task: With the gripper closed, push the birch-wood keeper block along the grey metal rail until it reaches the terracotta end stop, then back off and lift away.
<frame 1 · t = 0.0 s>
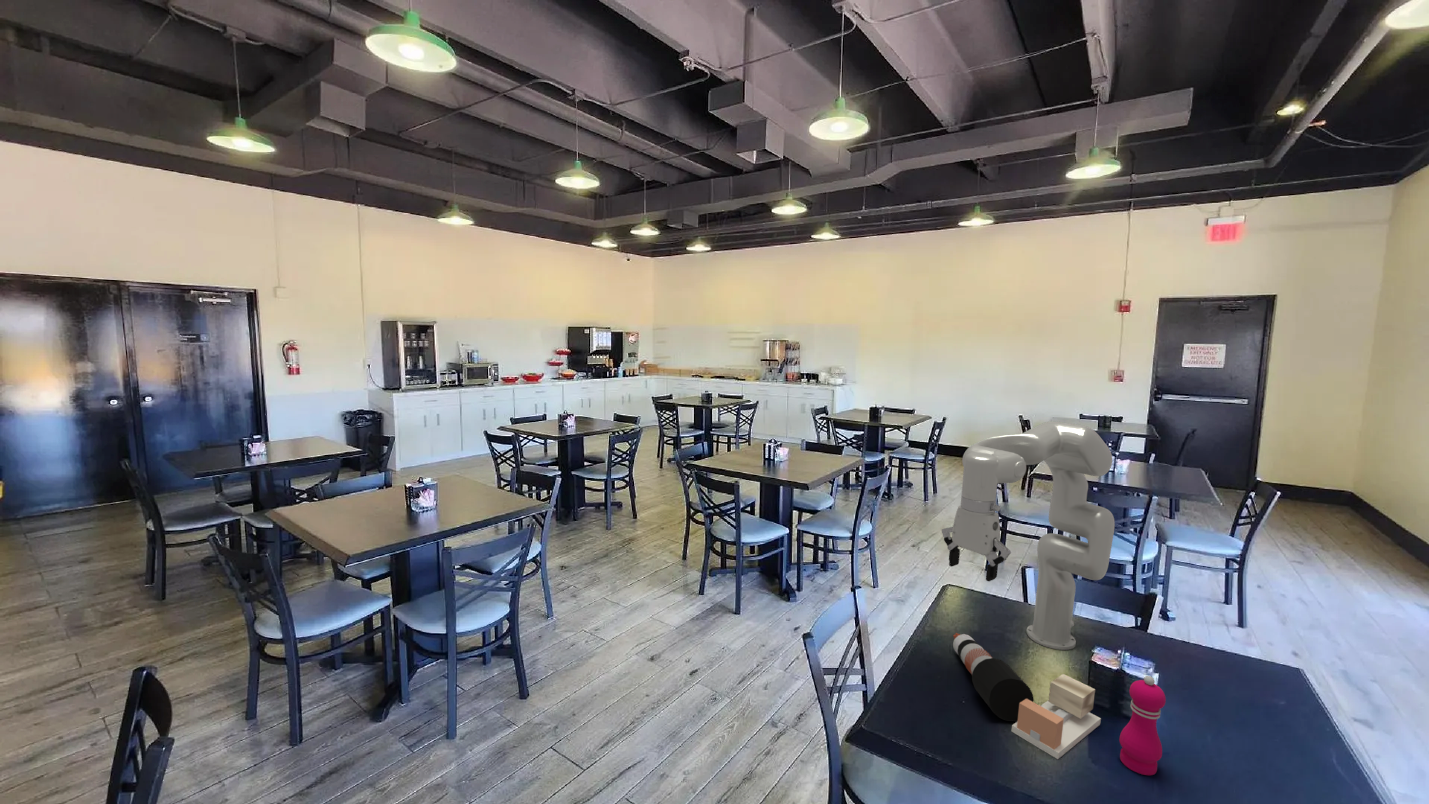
hand: (971, 572, 141), 31 cm above the table, tool pointing down, fingers open, 9 cm apart
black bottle: (979, 680, 150), on the table
keeper: (1071, 695, 135), point 6 cm above the table, slide at 0.0 cm
pepper mill: (1137, 765, 121), on the table
rail base: (1056, 727, 132), on the table
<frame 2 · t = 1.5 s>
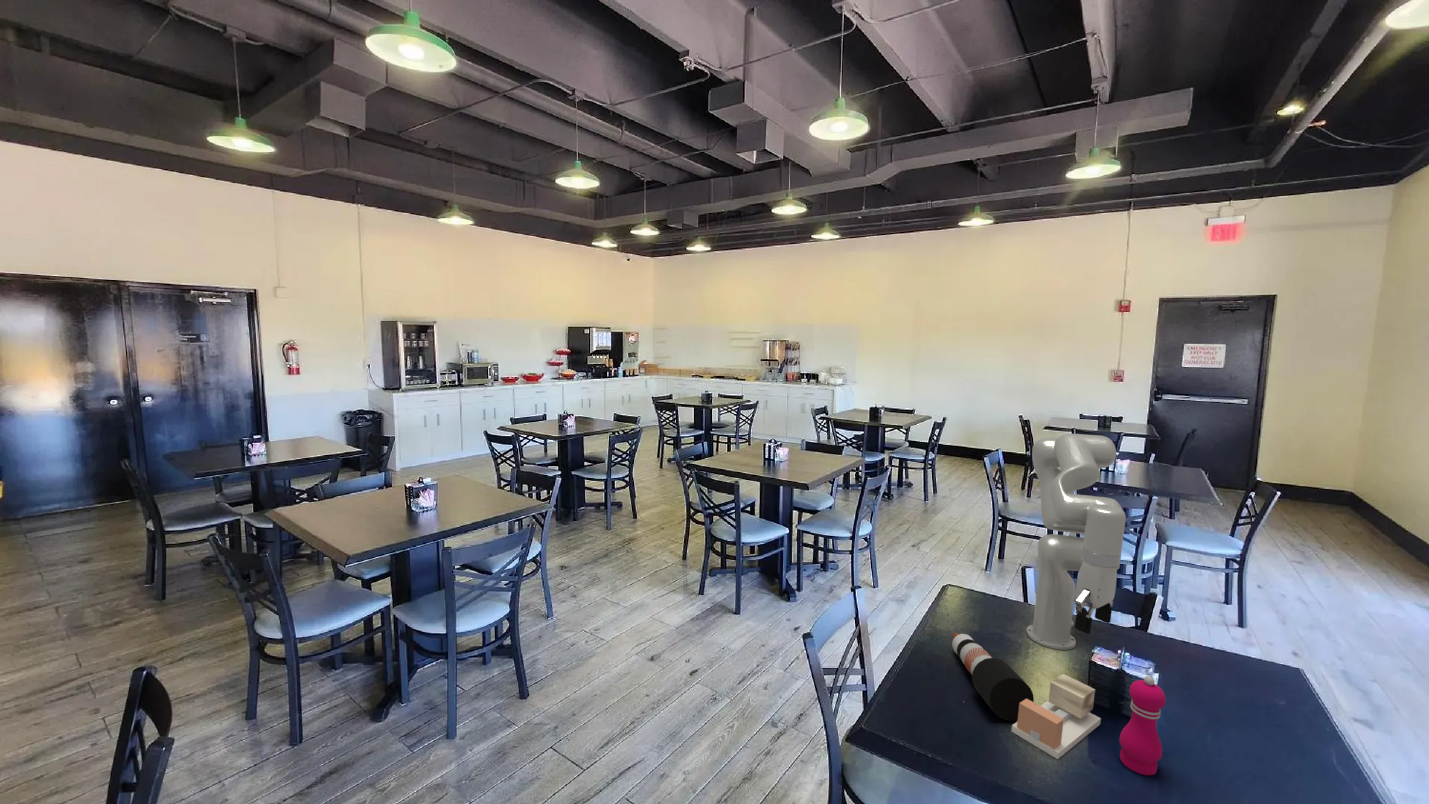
hand: (1092, 625, 138), 20 cm above the table, tool pointing down, fingers open, 9 cm apart
nothing on the table moved.
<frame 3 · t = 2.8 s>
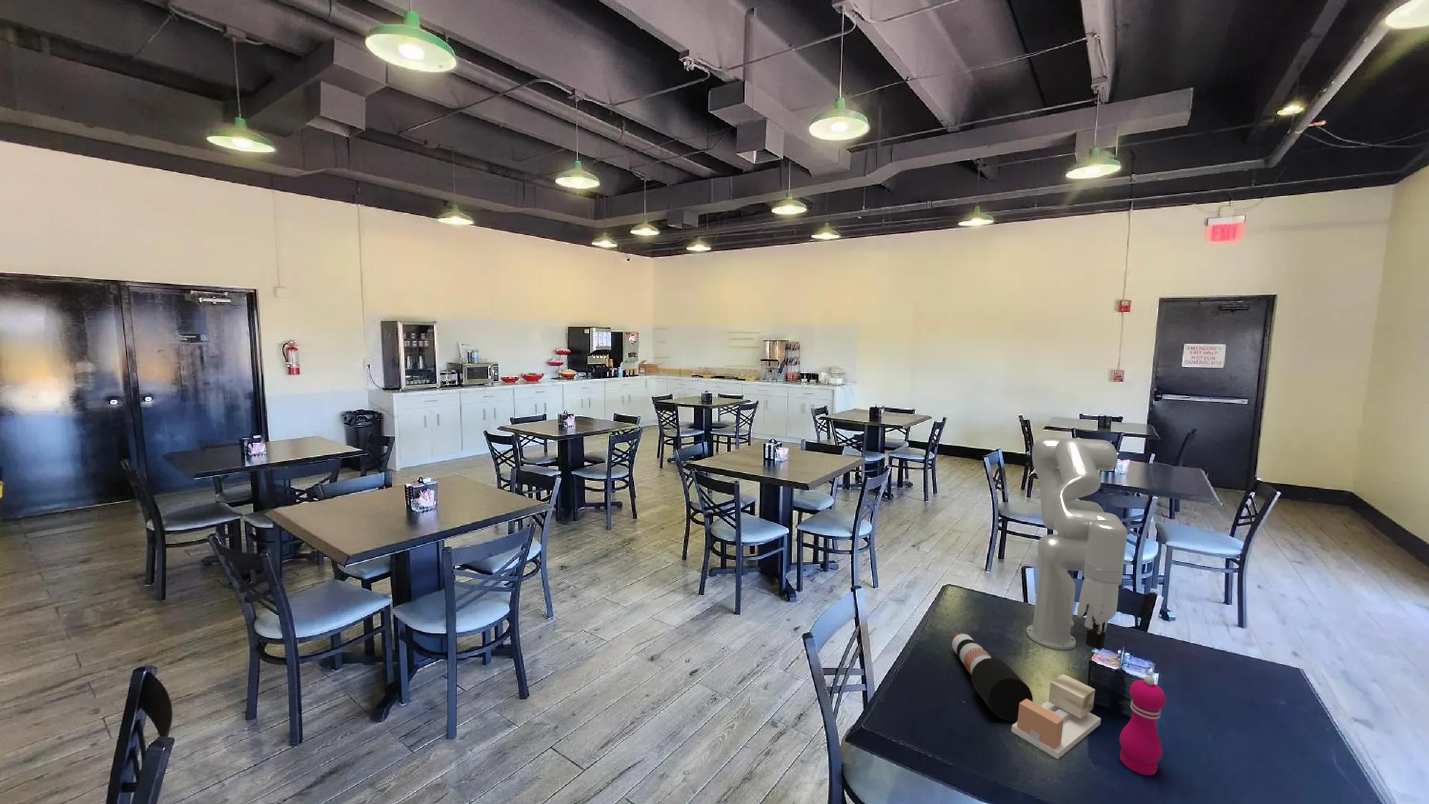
hand: (1094, 646, 138), 16 cm above the table, tool pointing down, fingers closed
nothing on the table moved.
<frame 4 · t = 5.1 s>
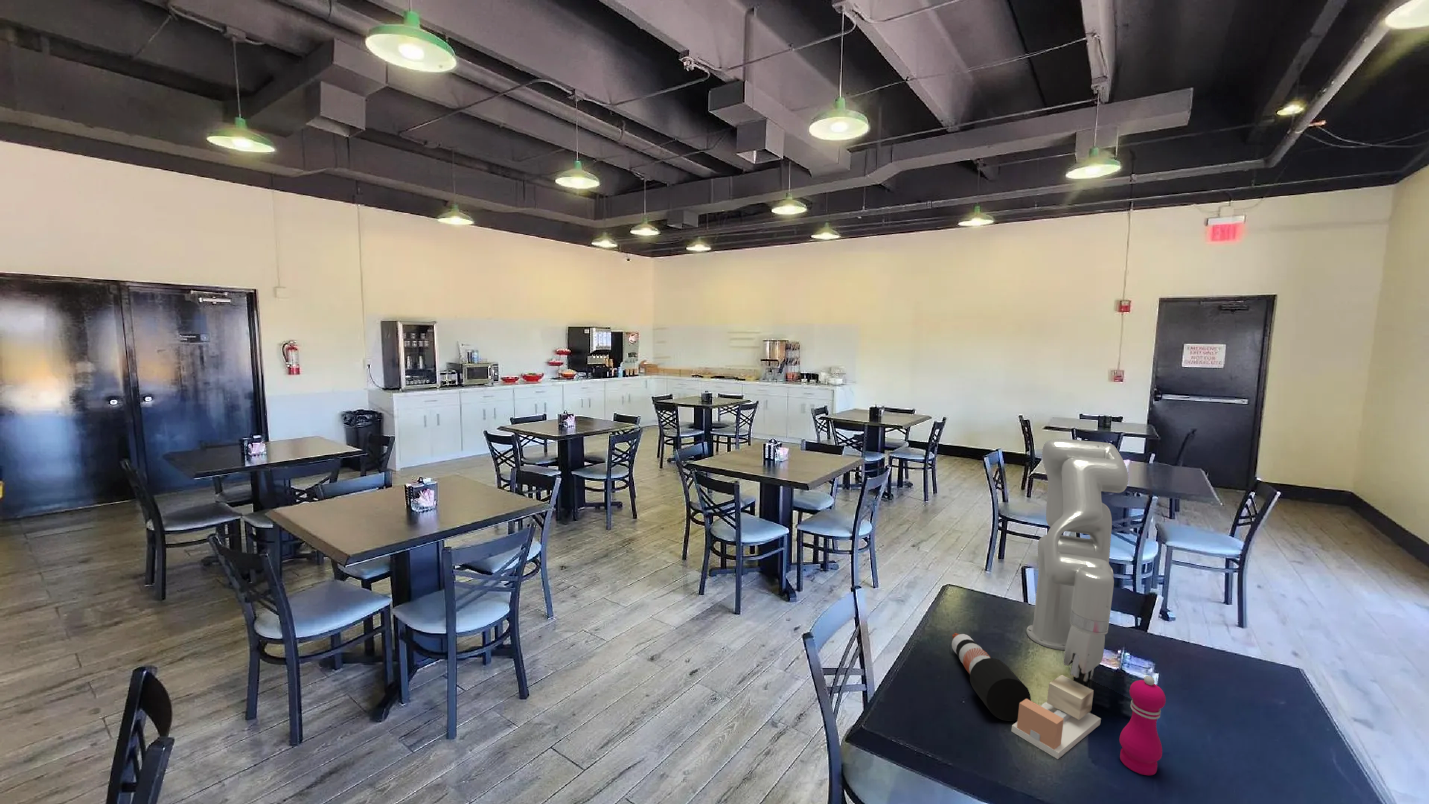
hand: (1080, 693, 137), 5 cm above the table, tool pointing down, fingers closed
keeper: (1070, 696, 134), point 6 cm above the table, slide at 0.7 cm, touching gripper
everything else where it was.
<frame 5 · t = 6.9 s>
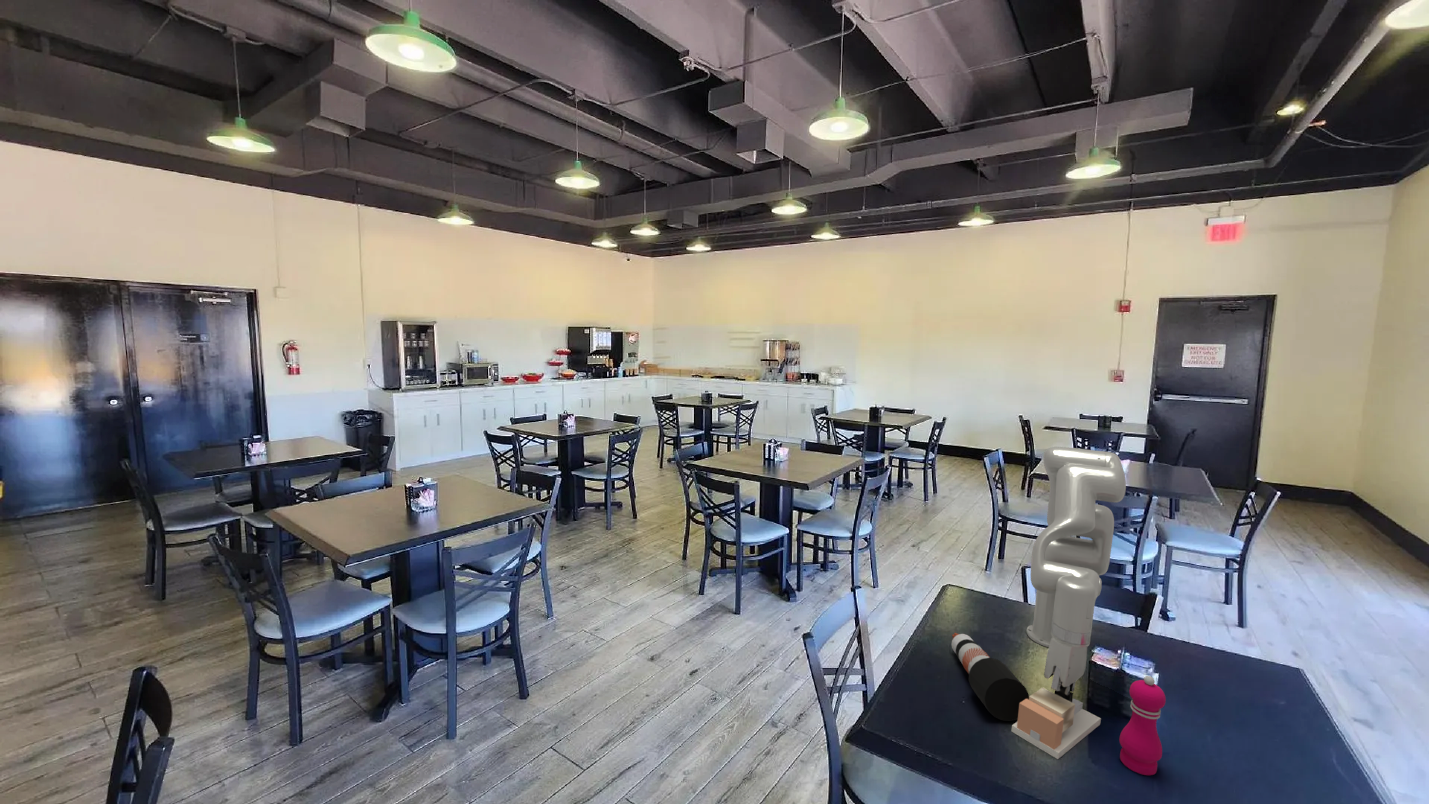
hand: (1062, 706, 132), 5 cm above the table, tool pointing down, fingers closed
keeper: (1050, 710, 129), point 6 cm above the table, slide at 9.7 cm, touching gripper
everything else where it was.
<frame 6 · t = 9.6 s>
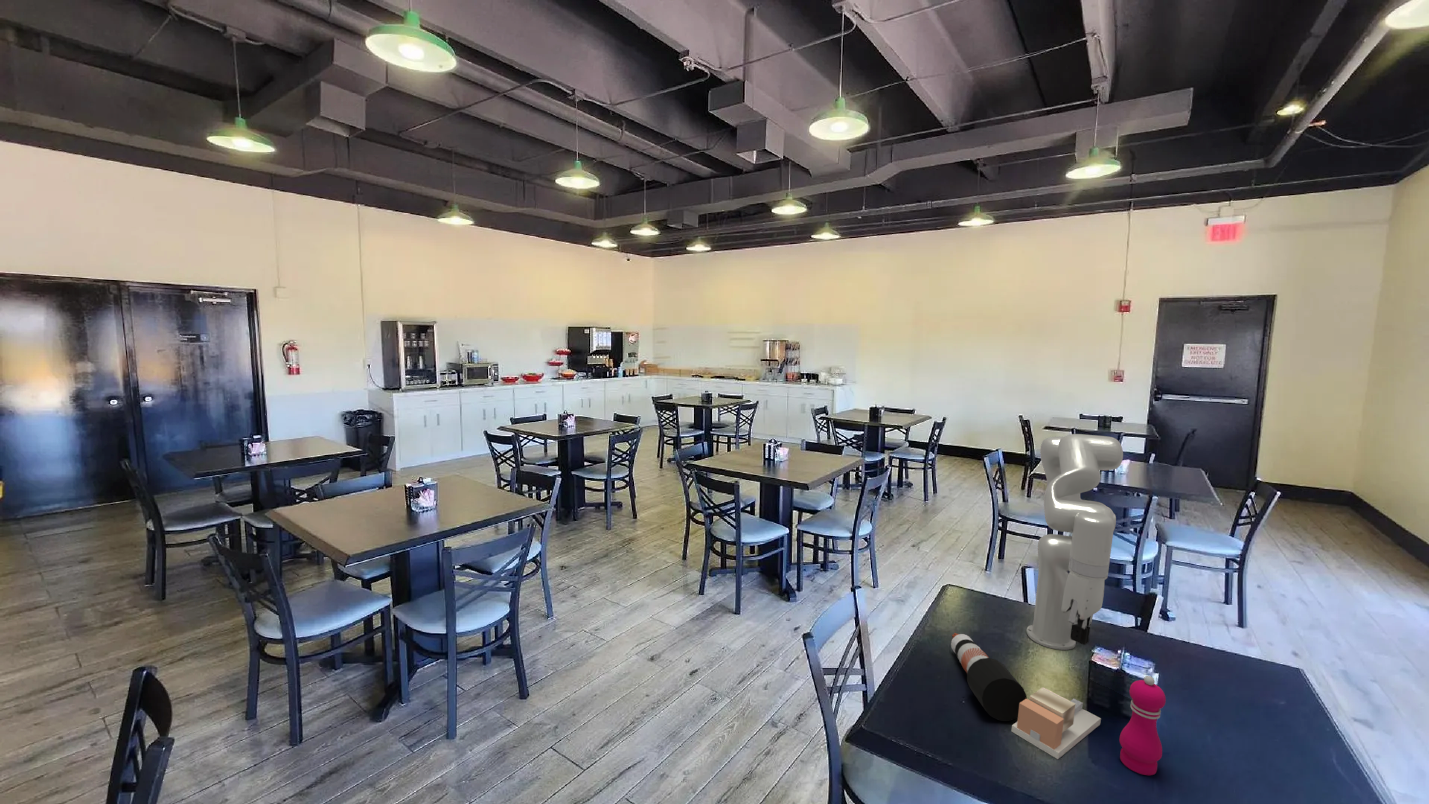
hand: (1079, 640, 134), 19 cm above the table, tool pointing down, fingers closed
keeper: (1051, 710, 129), point 6 cm above the table, slide at 9.5 cm
everything else where it was.
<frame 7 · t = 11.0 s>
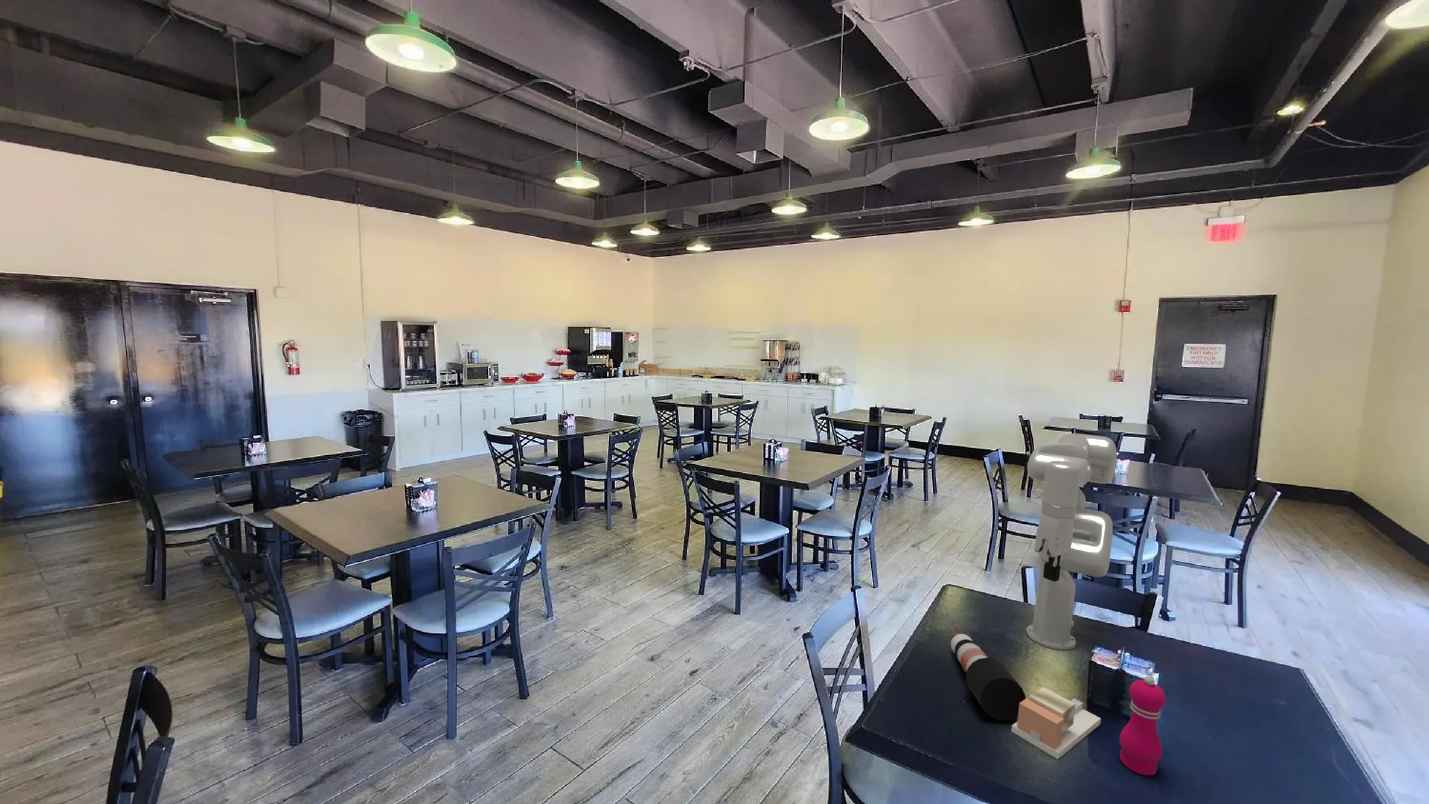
hand: (1050, 579, 148), 27 cm above the table, tool pointing down, fingers closed
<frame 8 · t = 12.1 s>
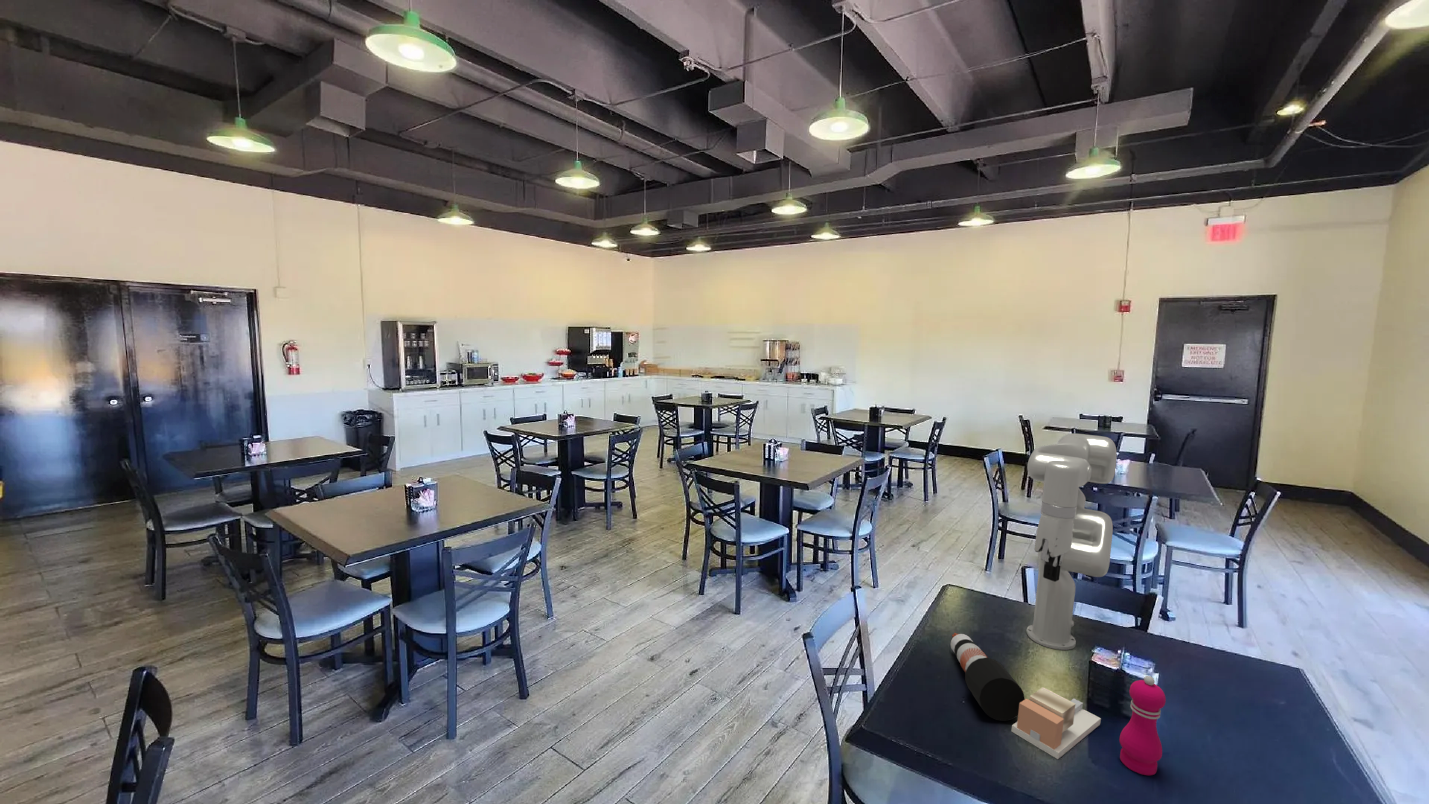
hand: (1050, 578, 148), 27 cm above the table, tool pointing down, fingers closed
at the end: keeper slide at 9.5 cm; pepper mill moved 0.2 cm from its start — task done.
